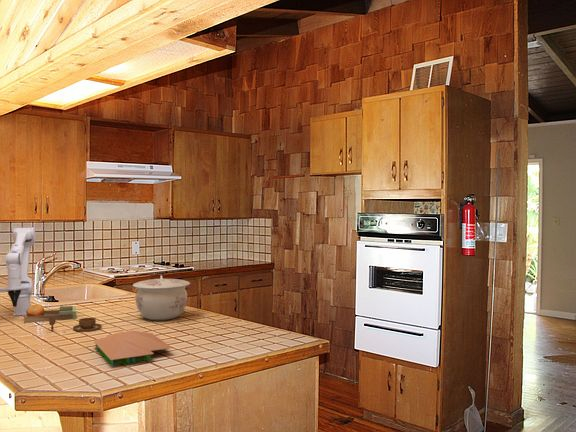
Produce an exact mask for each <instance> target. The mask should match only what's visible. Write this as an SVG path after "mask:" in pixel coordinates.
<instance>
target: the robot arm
mask: <svg viewBox="0 0 576 432" xmlns="http://www.w3.org/2000/svg"><path fill="white" fill-rule="evenodd" d="M12 237H13V242H14V243H12V244H11V247H10V249H9V252H8V253H7V254H5V263H6V264H5V265H6V269H7V286H4V287H0V293H3V292H4V293H7V295H8V296H9V298H10V300H11V303H12V307H13V308H14V312H13V314H12V316H14V317H15V316H26V311H27V309H28V308H29V307H30V306H31V296H32V295H33V294H34V281H33V279H32V278H31V277H29V267H30V266H29V265H30V254H31V253H30V252H31V248H32V247H33V245H35V243H36V242H35V241H36V229H35V227H33V226H32V227H14V228H13V229H12Z"/></svg>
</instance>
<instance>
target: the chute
mask: <svg viewBox="0 0 576 432" xmlns="http://www.w3.org/2000/svg"><path fill="white" fill-rule="evenodd" d="M50 318H55V321H65V320H77V306H73V305H68V306H67V305H64V306H59V309H51V310H50V309H49V310H48V309H47V310H45V312H44V315H43V316H29V317H28V316H27V313H26V315H25V316H24V317H23V322H24V323H25V324H26V323H27V324H28V323H38V322H39V323H40V322H49V319H50Z"/></svg>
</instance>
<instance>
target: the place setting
mask: <svg viewBox="0 0 576 432" xmlns="http://www.w3.org/2000/svg"><path fill="white" fill-rule="evenodd" d="M48 323H49V325H50V326H51V327H50V329H51V331H50V332H54V329H55V328H54V326H55V324H56V320H55V318H50V319H49V321H48ZM103 326H104V325H103V324H101V323H97V322H96V318H95V317H83V318H80V319H78V324H77V325H74V326H72V329H73V330H72V331H74V332H79V333H89V332H96V331H98V330H99V331H100V330H101V328H102V327H103ZM63 333H64V334H65V333H66V331H63Z"/></svg>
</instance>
